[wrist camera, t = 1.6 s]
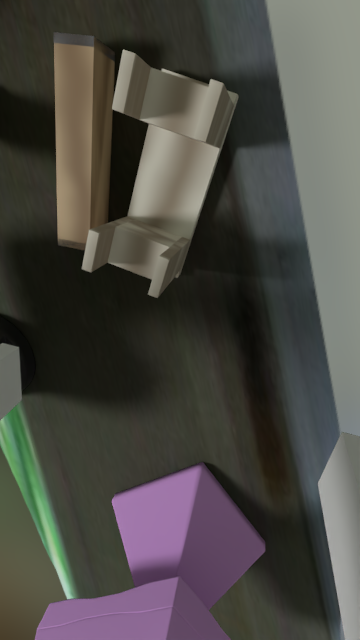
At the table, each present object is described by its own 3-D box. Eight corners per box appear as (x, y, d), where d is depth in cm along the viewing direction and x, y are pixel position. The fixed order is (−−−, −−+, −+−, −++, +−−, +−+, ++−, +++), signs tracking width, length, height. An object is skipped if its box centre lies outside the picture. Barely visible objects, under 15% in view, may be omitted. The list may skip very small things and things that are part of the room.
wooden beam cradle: (122, 252, 44) (79, 278, 34) (165, 72, 36) (126, 33, 25) (180, 274, 44) (154, 307, 34) (238, 96, 35) (228, 67, 25)
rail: (78, 237, 45) (57, 245, 40) (79, 48, 36) (53, 32, 32) (107, 242, 44) (89, 251, 40) (115, 52, 36) (93, 36, 31)
